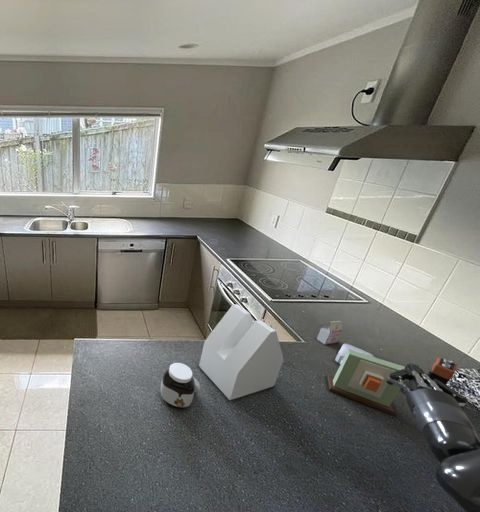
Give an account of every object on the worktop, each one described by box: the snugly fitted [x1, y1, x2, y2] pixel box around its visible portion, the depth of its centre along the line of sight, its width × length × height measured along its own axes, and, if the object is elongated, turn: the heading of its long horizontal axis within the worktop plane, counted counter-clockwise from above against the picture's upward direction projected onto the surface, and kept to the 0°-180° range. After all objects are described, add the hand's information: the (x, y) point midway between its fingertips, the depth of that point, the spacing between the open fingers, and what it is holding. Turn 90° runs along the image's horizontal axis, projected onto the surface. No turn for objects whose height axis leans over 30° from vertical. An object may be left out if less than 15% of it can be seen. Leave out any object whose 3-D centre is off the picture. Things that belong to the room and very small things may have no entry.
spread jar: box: [160, 362, 201, 409], centre depth 89 cm, size 12×11×12 cm
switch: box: [364, 376, 381, 392], centre depth 87 cm, size 3×2×4 cm
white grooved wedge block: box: [198, 303, 285, 401], centre depth 95 cm, size 19×15×25 cm
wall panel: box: [326, 349, 407, 415], centre depth 91 cm, size 16×8×15 cm, turn 57°
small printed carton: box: [316, 320, 343, 346], centre depth 118 cm, size 4×7×10 cm, turn 103°
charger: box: [334, 343, 375, 366], centre depth 105 cm, size 5×9×15 cm
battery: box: [426, 357, 458, 391], centre depth 98 cm, size 4×7×10 cm, turn 124°
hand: (411, 366), depth 70 cm, fingers closed
